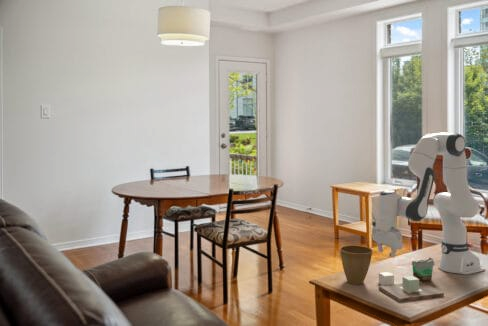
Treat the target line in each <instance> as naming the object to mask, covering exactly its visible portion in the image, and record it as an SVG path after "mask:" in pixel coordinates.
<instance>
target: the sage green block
mask: <svg viewBox="0 0 488 326" xmlns="http://www.w3.org/2000/svg"><path fill="white" fill-rule="evenodd" d="M402 283H403V285H402V288H404V289H406V290H407V291H409V292H410V291H418V290H419V279H418V278H416V277H414V276H413V275H409V276H402Z"/></svg>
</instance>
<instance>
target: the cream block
mask: <svg viewBox="0 0 488 326" xmlns="http://www.w3.org/2000/svg"><path fill="white" fill-rule="evenodd" d="M378 284H380V286H384V285H393V284H395V274H393V273H391V272H389V271H384V272H378Z"/></svg>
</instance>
